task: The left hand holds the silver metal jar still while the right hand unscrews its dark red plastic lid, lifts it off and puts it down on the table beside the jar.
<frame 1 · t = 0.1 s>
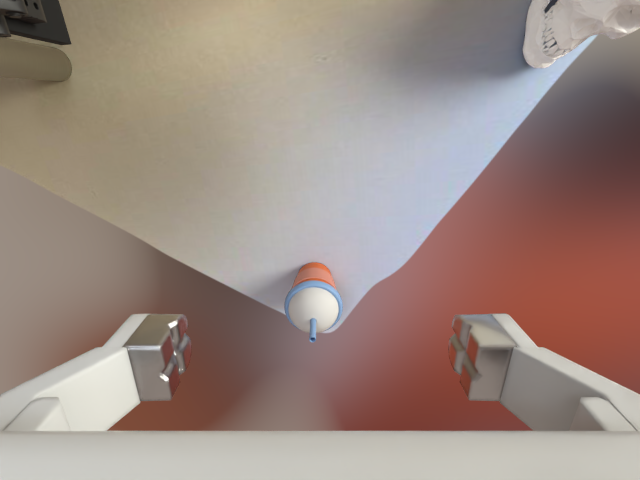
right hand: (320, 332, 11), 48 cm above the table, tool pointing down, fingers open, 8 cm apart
cup with straw: (314, 276, 64), on the table
jar: (56, 64, 51), on the table
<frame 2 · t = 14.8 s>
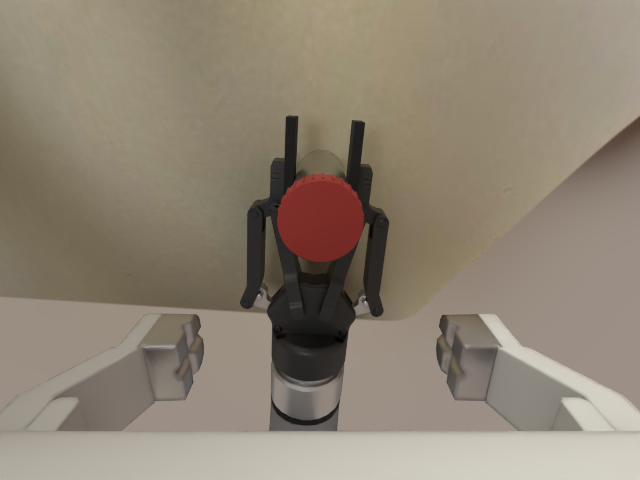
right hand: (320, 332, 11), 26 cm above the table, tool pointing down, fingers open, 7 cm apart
left hand: (325, 119, 27), fingers closed on jar, 4 cm apart
lid: (320, 221, 21), point 15 cm above the table, screwed on, not yet turned
jar: (320, 172, 35), on the table, touching left hand
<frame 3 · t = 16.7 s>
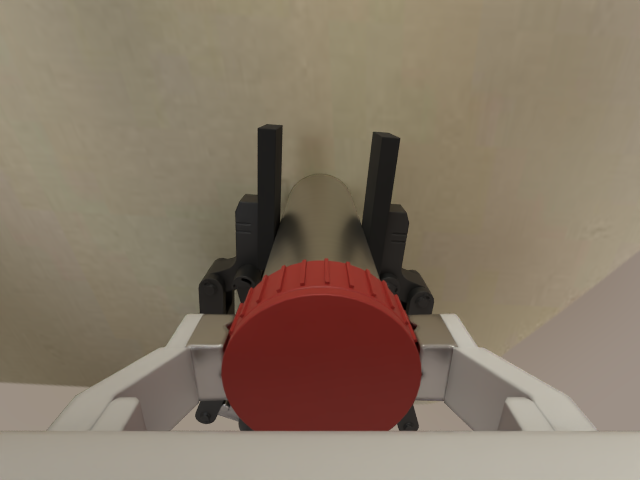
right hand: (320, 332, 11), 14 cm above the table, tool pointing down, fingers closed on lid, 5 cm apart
lid: (321, 371, 9), point 15 cm above the table, screwed on, not yet turned, touching right hand
jar: (320, 206, 23), on the table, touching left hand
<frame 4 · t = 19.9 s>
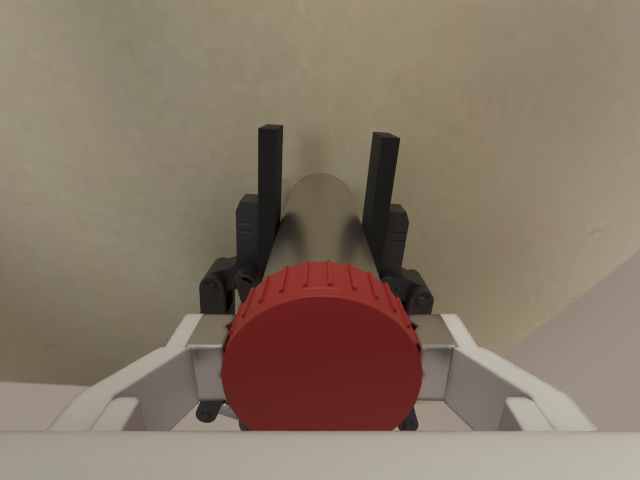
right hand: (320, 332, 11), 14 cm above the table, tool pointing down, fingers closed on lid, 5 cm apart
lid: (321, 373, 9), point 15 cm above the table, turned 92° so far, risen 0.1 cm, still on its thread, touching right hand
jar: (320, 206, 23), on the table, touching left hand
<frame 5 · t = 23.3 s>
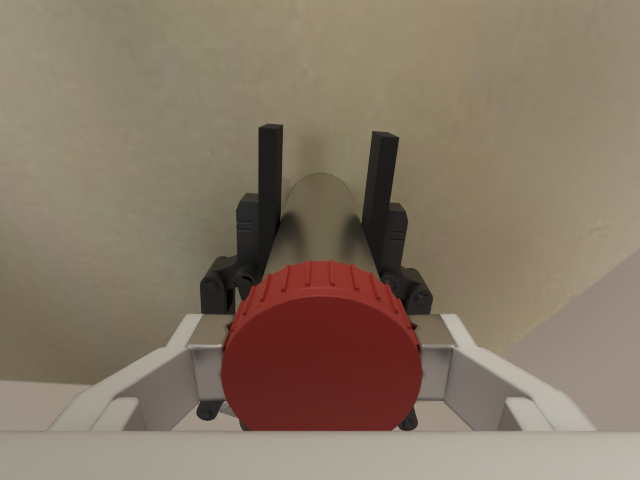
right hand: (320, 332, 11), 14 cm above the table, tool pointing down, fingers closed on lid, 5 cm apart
lid: (321, 372, 9), point 16 cm above the table, turned 184° so far, risen 0.3 cm, still on its thread, touching right hand
jar: (320, 205, 24), on the table, touching left hand
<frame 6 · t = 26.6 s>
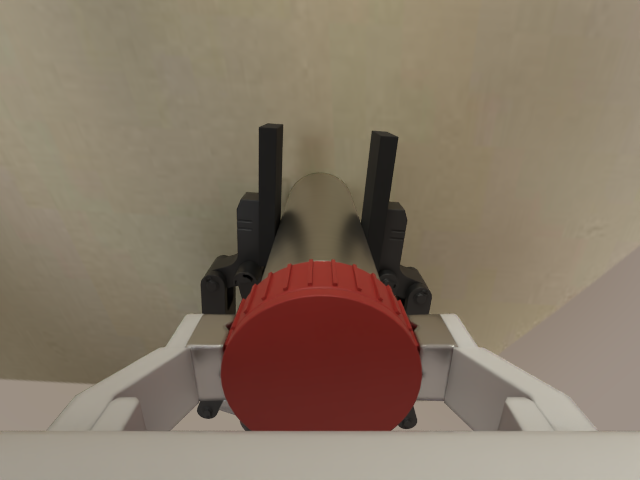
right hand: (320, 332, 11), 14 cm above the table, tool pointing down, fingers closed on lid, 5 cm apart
lid: (321, 372, 9), point 16 cm above the table, turned 276° so far, risen 0.4 cm, still on its thread, touching right hand
jar: (320, 205, 24), on the table, touching left hand
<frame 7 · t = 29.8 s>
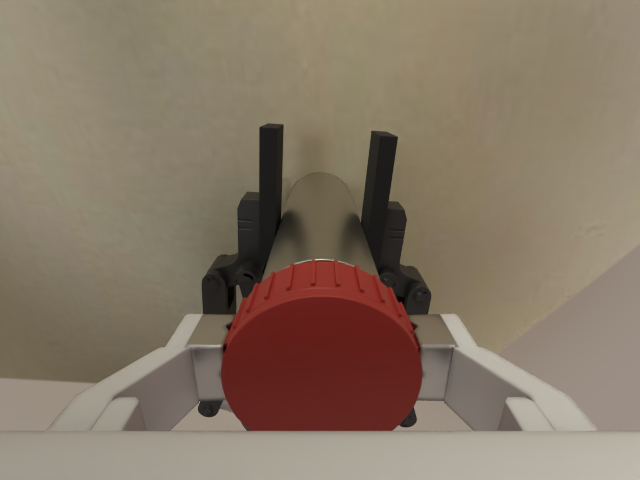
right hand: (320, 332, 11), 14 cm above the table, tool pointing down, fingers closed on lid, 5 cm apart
lid: (321, 373, 9), point 16 cm above the table, turned 368° so far, risen 0.5 cm, still on its thread, touching right hand
jar: (320, 204, 24), on the table, touching left hand
when the right hand's fingers open (2 cm above the table, at t = 40.4 s): lid drops 2 cm, point 2 cm above the table.
when the left hand's fingers open (6 cm above the table, at t = 41.3 s): jar stays where it is, on the table.
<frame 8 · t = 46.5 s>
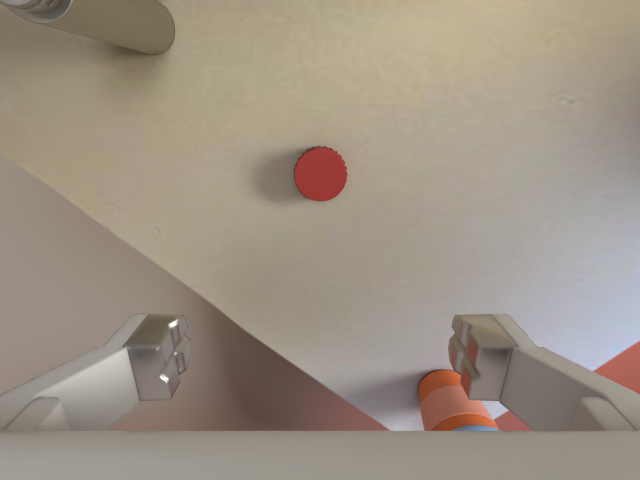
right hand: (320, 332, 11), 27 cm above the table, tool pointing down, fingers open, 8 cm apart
lid: (320, 175, 34), point 2 cm above the table, off its thread
cup with straw: (440, 386, 46), on the table
jar: (149, 26, 31), on the table
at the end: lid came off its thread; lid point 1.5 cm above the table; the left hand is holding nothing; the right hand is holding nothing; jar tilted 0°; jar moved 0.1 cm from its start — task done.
